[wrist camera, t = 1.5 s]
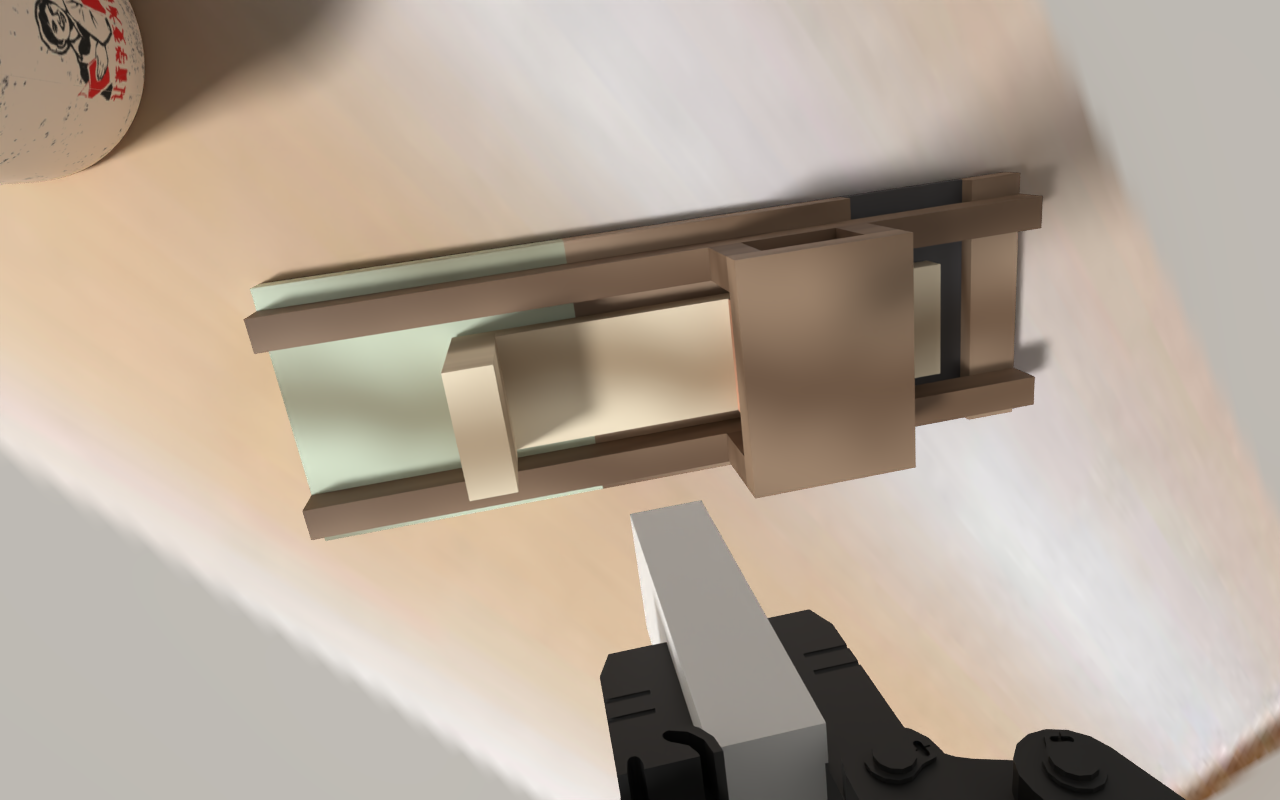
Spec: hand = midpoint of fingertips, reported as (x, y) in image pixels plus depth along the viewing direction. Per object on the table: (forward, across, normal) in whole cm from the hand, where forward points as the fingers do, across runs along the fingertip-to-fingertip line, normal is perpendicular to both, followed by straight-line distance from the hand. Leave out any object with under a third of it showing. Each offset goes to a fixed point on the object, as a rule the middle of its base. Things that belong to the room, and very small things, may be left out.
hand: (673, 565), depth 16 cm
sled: (+14, +4, 0) cm, 15 cm away
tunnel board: (+16, +3, 0) cm, 16 cm away
